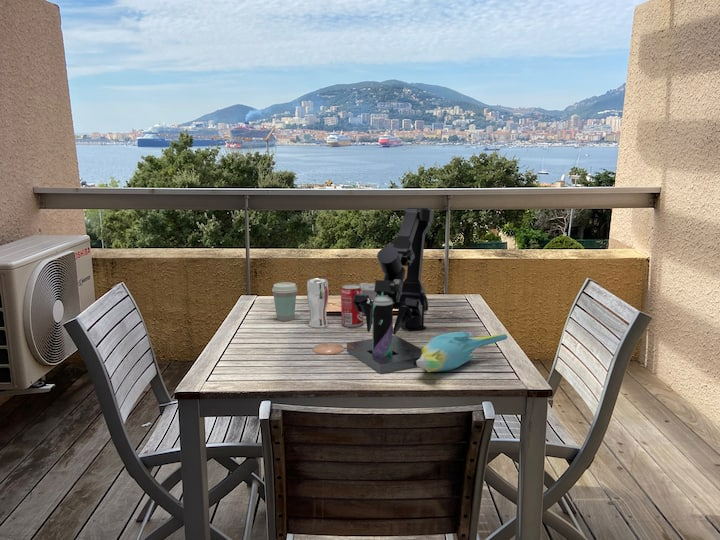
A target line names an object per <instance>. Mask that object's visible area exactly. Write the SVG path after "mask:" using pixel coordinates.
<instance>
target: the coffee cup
mask: <svg viewBox="0 0 720 540" xmlns="http://www.w3.org/2000/svg"><path fill="white" fill-rule="evenodd" d="M272 286H273V287H272V289H271V291H272V294H273V302H274V307H275V314H276V320H277V321H279V322H289V321H293V320H294V319H295V313H296V301H297V291H298V287H297V284H296V283H295V282H290V281H289V282H288V281H287V282H286V281H285V282H284V281H283V282H282V281H281V282H277V283H274V284H273V285H272Z"/></svg>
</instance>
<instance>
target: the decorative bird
mask: <svg viewBox="0 0 720 540" xmlns="http://www.w3.org/2000/svg"><path fill="white" fill-rule="evenodd" d="M471 336H472V332H466V331H455V332H449V333H444V334H443V333H442V334H439V335H437V336H434V337H433V338H432V339H431V340H430V341H429V342H428V343H427V344H425V345H424V347H422V348H421V349H422V354H421V357H420V358H419V359H418V360H417V361H414V362H413V364H414V366H418V367H419V368H421V370H426V371H427V373H432V372H433V373H435V372H436V373H437V372H447V371H451V370H455V369H457V368H459V367H460V366H462V365H463V364H465V363H467V362H469V361H470V360H472V359H473V358H474V357H475V355H474V354H473V355H470V354H471V353H473V351H475V350H476V349H478V348H482V347H484V346H488V345H491V344H495V343H499V342H501V341H505V340H507V338H508V335H507V334H506V333H503V334H495V335H485V336H484V335H483V336H478V337H477V336H476V337H471ZM418 367H417V368H418Z"/></svg>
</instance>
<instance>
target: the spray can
mask: <svg viewBox="0 0 720 540" xmlns="http://www.w3.org/2000/svg"><path fill="white" fill-rule="evenodd" d="M393 316H394V309H393V301H392V298H390V297H389V296H388V294H387V293H386V292H385V291H379V294H378V295H377V296H376V297H375V298H373V301H372V326H371V329H372V330H371V331H372V332H371V333H372V335H371V336H372V338H371V339H372V355H374V356H375V357H377V358H381V357H386V356H392V351H393V335H394V334H393V329H394V326H393V325H394V324H393Z"/></svg>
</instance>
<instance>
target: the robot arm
mask: <svg viewBox="0 0 720 540" xmlns="http://www.w3.org/2000/svg"><path fill="white" fill-rule="evenodd" d="M403 212H404V213H403V214H404V215H403V216H404V217H403V219H402V223H401V225H400V228H399V231H398V235H397V237H396V238H395V239H394V240H392V241H390V243H386V246H384V247H382V248H381V249H380V250H379V251H378V252H377V255H376V257H377V261H378V264H379V266H380V269H381V271H382V273H384V276H383V279H382V280H381V279H375V282H374V284H375V288H374V292H376V296H377V295H378V294H379V291H385V292H386V293H387V294H388V296H389V297H390V298H392V301H393V310H397V311H398V312H397V316H396V320H395V322H394V324H393V325H394V326H393V335H396V334H397V333H398V332H399V330H400V329H401V328H403V329H405V330H407V331H409V332H412V331H418V330H425V329H427V326H426V325H424V324H425V320H424V319H425V312H427V311H429V299H428V297H427V293H425V292H426V288H425V286H424V284H423V282H422V269H423V260H424V247H425V239H426V235H427V233H428V232H429V231H430V230H431V228H432V223H433V222H434V218H435V217H434V211H433V210H431V208H430V207H421V206H410V207H408V206H407V207H405V208H404V211H403ZM404 267H407V271H406V268H404ZM372 301H373V300H371V299H370V298H369V296H368V295H362V294H356V295H355V296H354V298H353V301H352V302H353V304H354V306H355V308H356V310H357V311H358V312H363V313H364V315H363V316H365V320H366V331H367V333H370V332H371V331H372V330H371V329H372Z"/></svg>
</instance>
